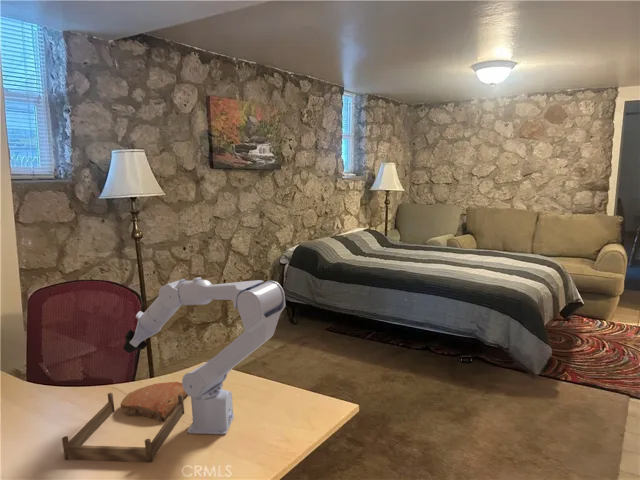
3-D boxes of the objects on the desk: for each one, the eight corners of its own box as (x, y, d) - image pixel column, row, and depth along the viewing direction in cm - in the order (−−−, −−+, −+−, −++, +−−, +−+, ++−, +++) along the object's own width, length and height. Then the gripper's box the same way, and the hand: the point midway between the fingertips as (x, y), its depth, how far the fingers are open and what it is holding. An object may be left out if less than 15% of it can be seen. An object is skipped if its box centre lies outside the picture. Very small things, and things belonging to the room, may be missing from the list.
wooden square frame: (185, 411, 119) (183, 394, 118) (151, 462, 100) (149, 442, 99) (111, 410, 121) (109, 392, 120) (63, 459, 101) (60, 439, 100)
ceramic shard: (144, 372, 131) (193, 383, 129) (142, 393, 132) (190, 405, 129) (112, 391, 117) (166, 404, 114) (109, 415, 117) (163, 429, 115)
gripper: (160, 286, 120) (136, 314, 127) (130, 322, 108) (106, 350, 115) (181, 303, 122) (157, 329, 128) (154, 339, 109) (129, 366, 116)
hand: (134, 340), depth 122 cm, fingers open, 7 cm apart
